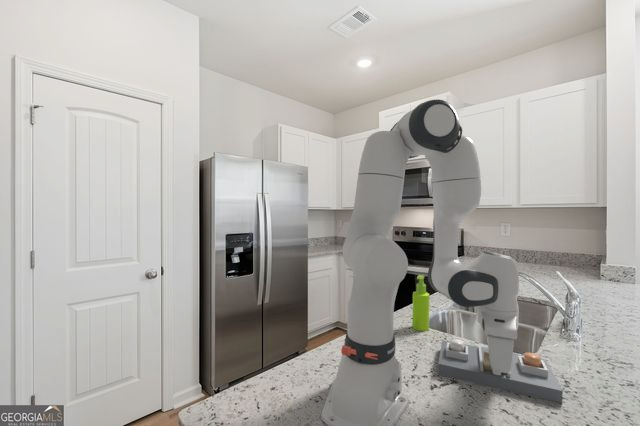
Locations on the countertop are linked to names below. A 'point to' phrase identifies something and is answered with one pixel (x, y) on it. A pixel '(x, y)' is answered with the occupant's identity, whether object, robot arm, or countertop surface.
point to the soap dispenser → (420, 306)
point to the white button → (457, 345)
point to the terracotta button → (532, 360)
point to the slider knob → (487, 361)
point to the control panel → (516, 380)
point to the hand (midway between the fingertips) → (496, 371)
